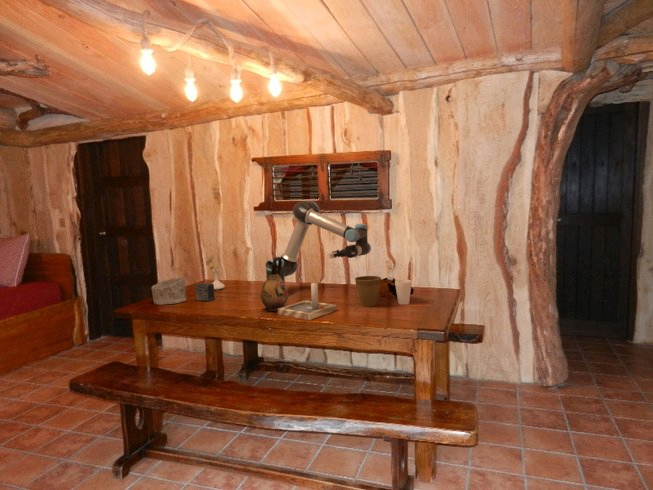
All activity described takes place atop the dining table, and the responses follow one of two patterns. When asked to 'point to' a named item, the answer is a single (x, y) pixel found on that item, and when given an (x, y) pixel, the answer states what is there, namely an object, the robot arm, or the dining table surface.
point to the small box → (204, 292)
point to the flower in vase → (216, 282)
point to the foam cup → (403, 291)
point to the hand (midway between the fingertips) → (329, 256)
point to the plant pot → (368, 289)
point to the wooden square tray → (321, 311)
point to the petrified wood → (169, 291)
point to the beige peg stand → (314, 305)
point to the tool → (389, 288)
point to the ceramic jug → (274, 287)
